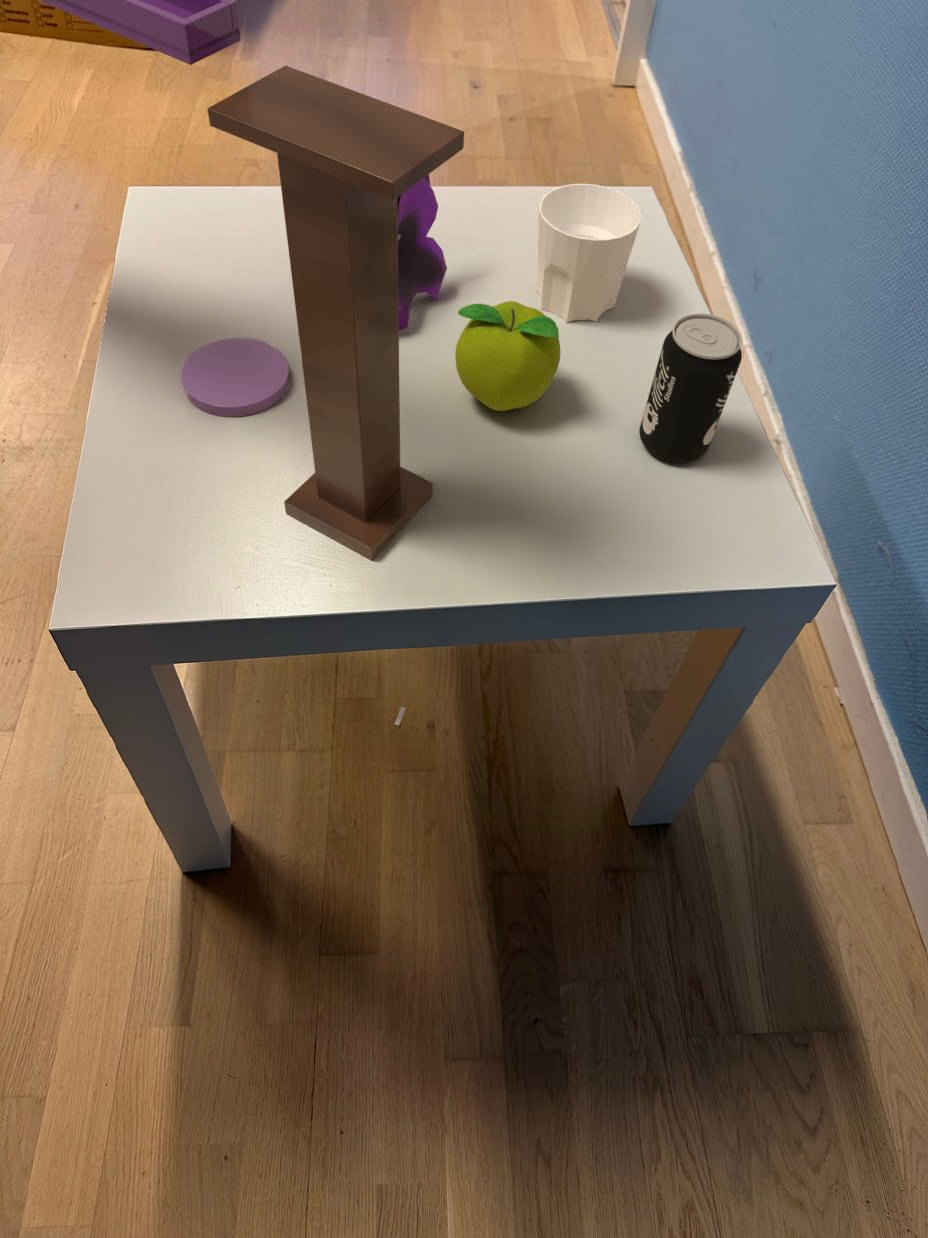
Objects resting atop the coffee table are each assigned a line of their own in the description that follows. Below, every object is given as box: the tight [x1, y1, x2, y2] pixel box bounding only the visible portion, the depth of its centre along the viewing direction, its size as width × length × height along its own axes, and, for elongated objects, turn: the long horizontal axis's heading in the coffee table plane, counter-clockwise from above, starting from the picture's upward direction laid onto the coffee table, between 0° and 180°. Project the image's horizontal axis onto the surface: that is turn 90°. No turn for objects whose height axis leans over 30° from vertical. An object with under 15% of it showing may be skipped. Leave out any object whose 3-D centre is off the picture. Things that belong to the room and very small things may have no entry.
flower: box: [397, 174, 448, 331], centre depth 91 cm, size 15×15×14 cm
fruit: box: [454, 300, 561, 412], centre depth 82 cm, size 9×9×10 cm
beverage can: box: [638, 313, 743, 464], centre depth 78 cm, size 7×7×12 cm
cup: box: [535, 183, 642, 323], centre depth 91 cm, size 10×10×10 cm
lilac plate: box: [180, 337, 291, 418], centre depth 85 cm, size 10×10×1 cm
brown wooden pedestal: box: [206, 65, 465, 561], centre depth 64 cm, size 9×13×32 cm
